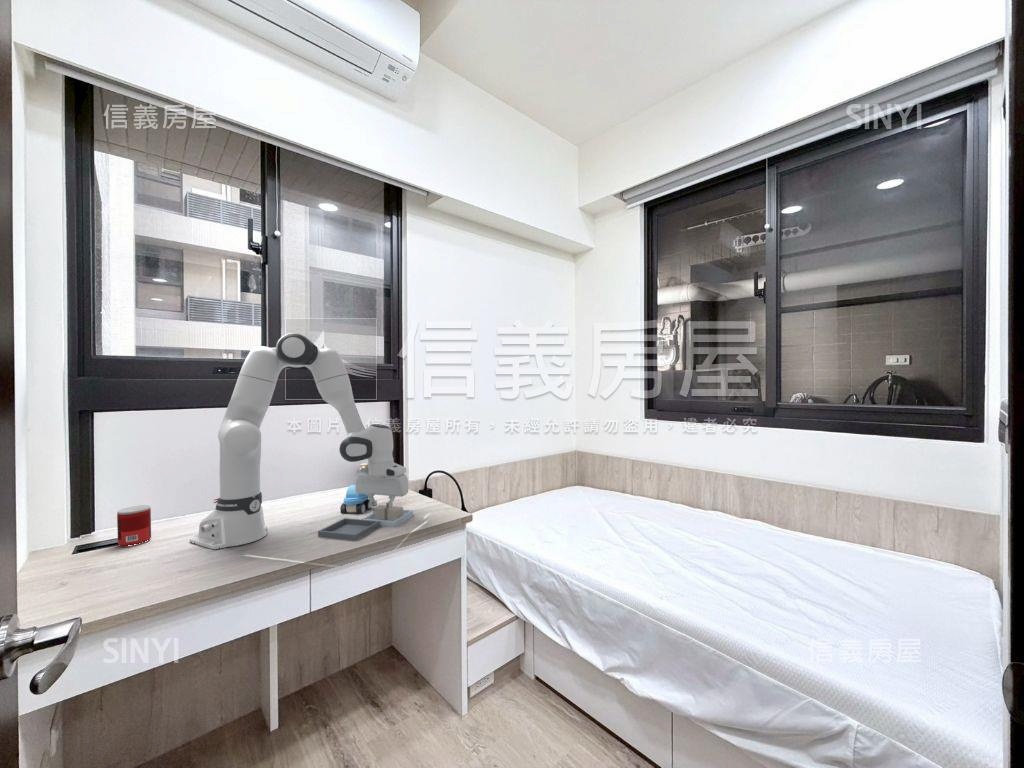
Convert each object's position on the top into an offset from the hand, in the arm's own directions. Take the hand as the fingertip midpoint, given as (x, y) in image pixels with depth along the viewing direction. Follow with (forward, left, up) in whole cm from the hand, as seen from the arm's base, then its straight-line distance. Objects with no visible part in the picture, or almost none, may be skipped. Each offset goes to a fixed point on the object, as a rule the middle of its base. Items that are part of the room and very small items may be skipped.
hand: (381, 506), depth 151 cm
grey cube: (+5, +1, -4) cm, 7 cm away
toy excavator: (-16, +10, -5) cm, 20 cm away
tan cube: (0, 0, -4) cm, 4 cm away
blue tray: (+3, 0, -5) cm, 6 cm away
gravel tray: (-3, -13, -5) cm, 15 cm away
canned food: (-66, -37, -5) cm, 76 cm away
